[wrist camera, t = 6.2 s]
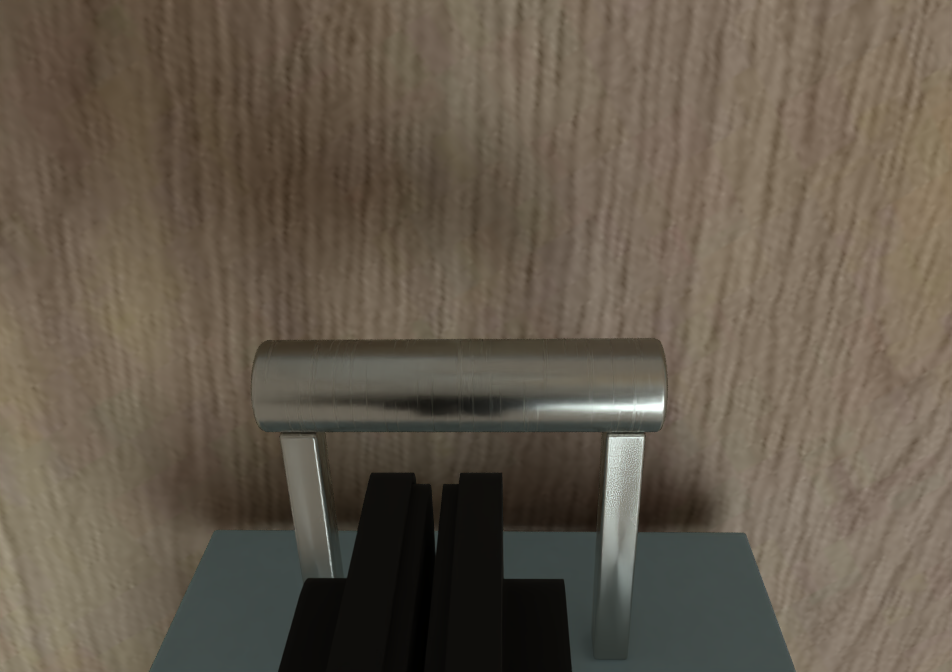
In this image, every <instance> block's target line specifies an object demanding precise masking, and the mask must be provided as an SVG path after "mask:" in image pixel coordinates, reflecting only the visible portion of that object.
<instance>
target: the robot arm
mask: <svg viewBox="0 0 952 672" xmlns="http://www.w3.org/2000/svg"><path fill="white" fill-rule="evenodd" d="M278 672H572V664H571V652H570V640H569V627H568V615H567V603H566V592H565V583H564V579H504V560H503V484H502V473H460V478H459V484H444V485H443V490H442V500H441V509H440V519H439V529H438V539H437V549H436V550H435V535H434V519H433V504H432V490H431V485H430V484H416V478H415V474H414V473H371V475H370V478H369V481H368V486H367V490H366V494H365V499H364V503H363V508H362V512H361V517H360V521H359V526H358V530H357V535H356V539H355V544H354V548H353V552H352V557H351V561H350V566H349V570H348V575H347V578H307V579H306V581H305V582H304V584H303V587H302V589H301V592H300V595H299V599H298V602H297V606H296V609H295V613H294V617H293V620H292V624H291V627H290V631H289V634H288V638H287V641H286V645H285V648H284V652H283V655H282V659H281V662H280V666H279V669H278Z"/></svg>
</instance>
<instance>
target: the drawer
mask: <svg viewBox="0 0 952 672" xmlns="http://www.w3.org/2000/svg"><path fill="white" fill-rule="evenodd" d="M667 399H668V378H667V365H666V358H665V353H664V349H663V346H662V344H661V342H660V340H658V339H655V338H590V339H381V340H267V341H264V342H262V343H261V344H260V346H259V347H258V349H257V352H256V355H255V358H254V362H253V367H252V374H251V401H252V408H253V413H254V417H255V420H256V423H257V425H258V427H259V428H260V429H261V430H263V431H265V432H281V433H280V436H279V437H280V443H281V450H282V456H283V462H284V468H285V475H286V481H287V487H288V493H289V499H290V506H291V512H292V518H293V524H294V530H215V531H214V532H213V535H212V537H211V539H210V541H209V543H208V545H207V548H206V550H205V552H204V554H203V556H202V558H201V561H200V563H199V565H198V567H197V569H196V571H195V573H194V576H193V578H192V580H191V582H190V584H189V586H188V589H187V591H186V593H185V595H184V597H183V599H182V602H181V604H180V606H179V608H178V610H177V612H176V614H175V617H174V619H173V621H172V623H171V625H170V627H169V630H168V632H167V634H166V636H165V638H164V640H163V643H162V645H161V647H160V649H159V651H158V653H157V656H156V658H155V660H154V662H153V664H152V666H151V668H150V671H149V672H278V669H279V666H280V662H281V659H282V655H283V652H284V648H285V645H286V641H287V638H288V634H289V631H290V627H291V624H292V620H293V617H294V613H295V609H296V606H297V602H298V599H299V595H300V592H301V589H302V587H303V584H304V582H305V581H306V579H307V578H347V575H348V570H349V566H350V561H351V557H352V552H353V548H354V544H355V539H356V535H357V531H338V527H337V519H336V512H335V504H334V496H333V488H332V481H331V473H330V465H329V458H328V450H327V442H326V434H325V432H602V437H601V456H600V475H599V494H598V513H597V531H596V532H518V531H503V560H504V579H564V583H565V592H566V603H567V615H568V627H569V640H570V652H571V664H572V672H796V671H795V668H794V665H793V662H792V660H791V657H790V654H789V652H788V649H787V646H786V643H785V641H784V638H783V635H782V632H781V630H780V627H779V624H778V621H777V619H776V616H775V613H774V610H773V608H772V605H771V602H770V599H769V597H768V594H767V591H766V588H765V586H764V583H763V580H762V577H761V575H760V572H759V569H758V566H757V564H756V561H755V558H754V555H753V553H752V550H751V547H750V545H749V542H748V539H747V536H746V534H745V533H711V532H638V523H639V511H640V499H641V487H642V475H643V463H644V450H645V438H646V436H645V432H657V431H660V430H661V429H662V427H663V424H664V421H665V417H666V411H667ZM434 535H435V550H436V549H437V539H438V531H434Z"/></svg>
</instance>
